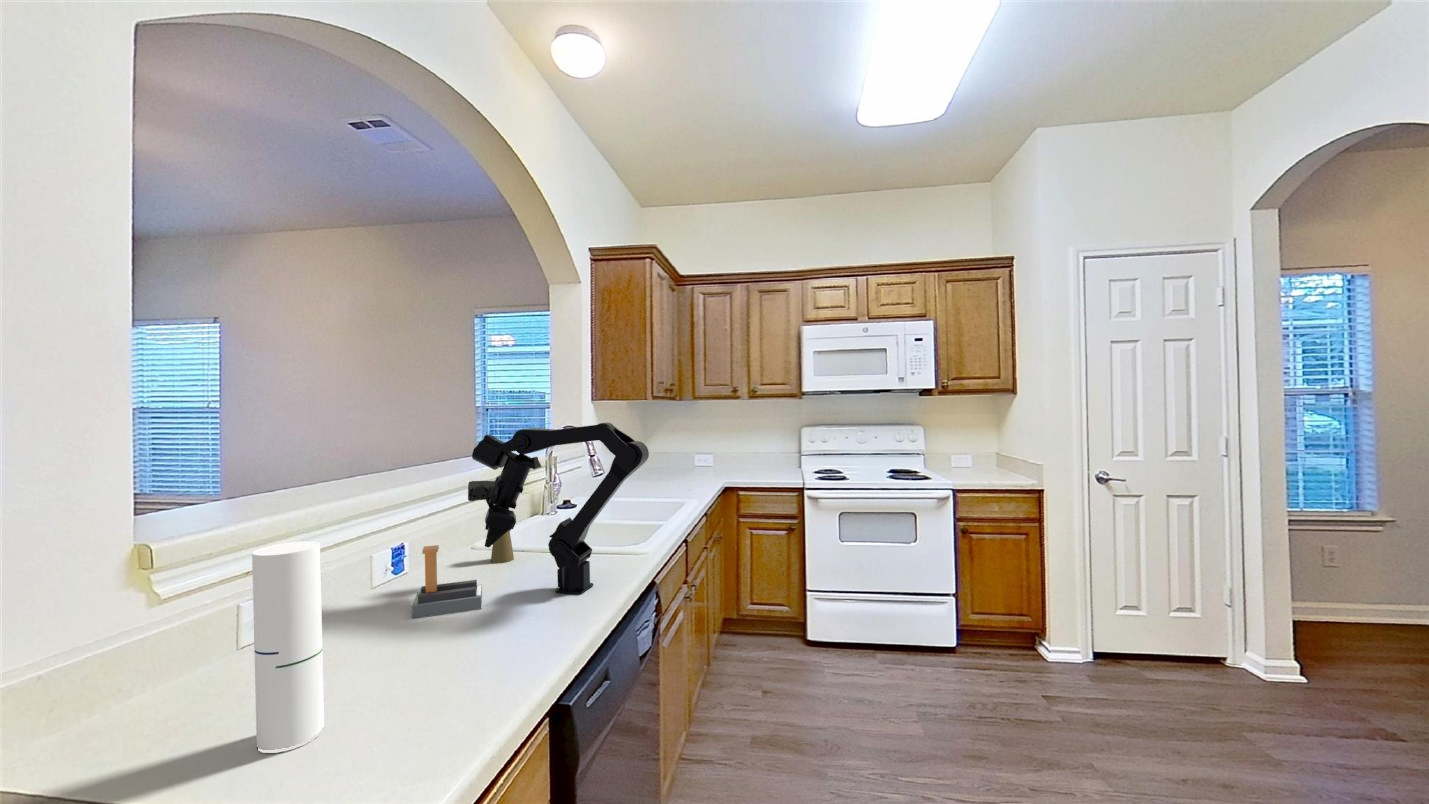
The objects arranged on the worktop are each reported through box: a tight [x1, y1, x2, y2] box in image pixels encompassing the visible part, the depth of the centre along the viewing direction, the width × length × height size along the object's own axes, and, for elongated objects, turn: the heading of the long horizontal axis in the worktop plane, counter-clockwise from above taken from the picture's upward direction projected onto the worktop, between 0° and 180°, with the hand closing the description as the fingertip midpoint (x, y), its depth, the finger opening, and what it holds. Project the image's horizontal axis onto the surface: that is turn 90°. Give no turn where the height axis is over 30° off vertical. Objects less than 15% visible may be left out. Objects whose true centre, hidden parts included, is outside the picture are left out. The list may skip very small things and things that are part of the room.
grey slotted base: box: [411, 579, 483, 619], centre depth 123 cm, size 13×9×4 cm
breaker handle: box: [421, 544, 440, 593], centre depth 121 cm, size 3×3×10 cm
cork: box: [490, 530, 515, 564], centre depth 158 cm, size 6×6×11 cm
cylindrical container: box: [251, 540, 325, 750], centre depth 75 cm, size 7×7×25 cm
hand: (487, 538), depth 135 cm, fingers open, 9 cm apart
